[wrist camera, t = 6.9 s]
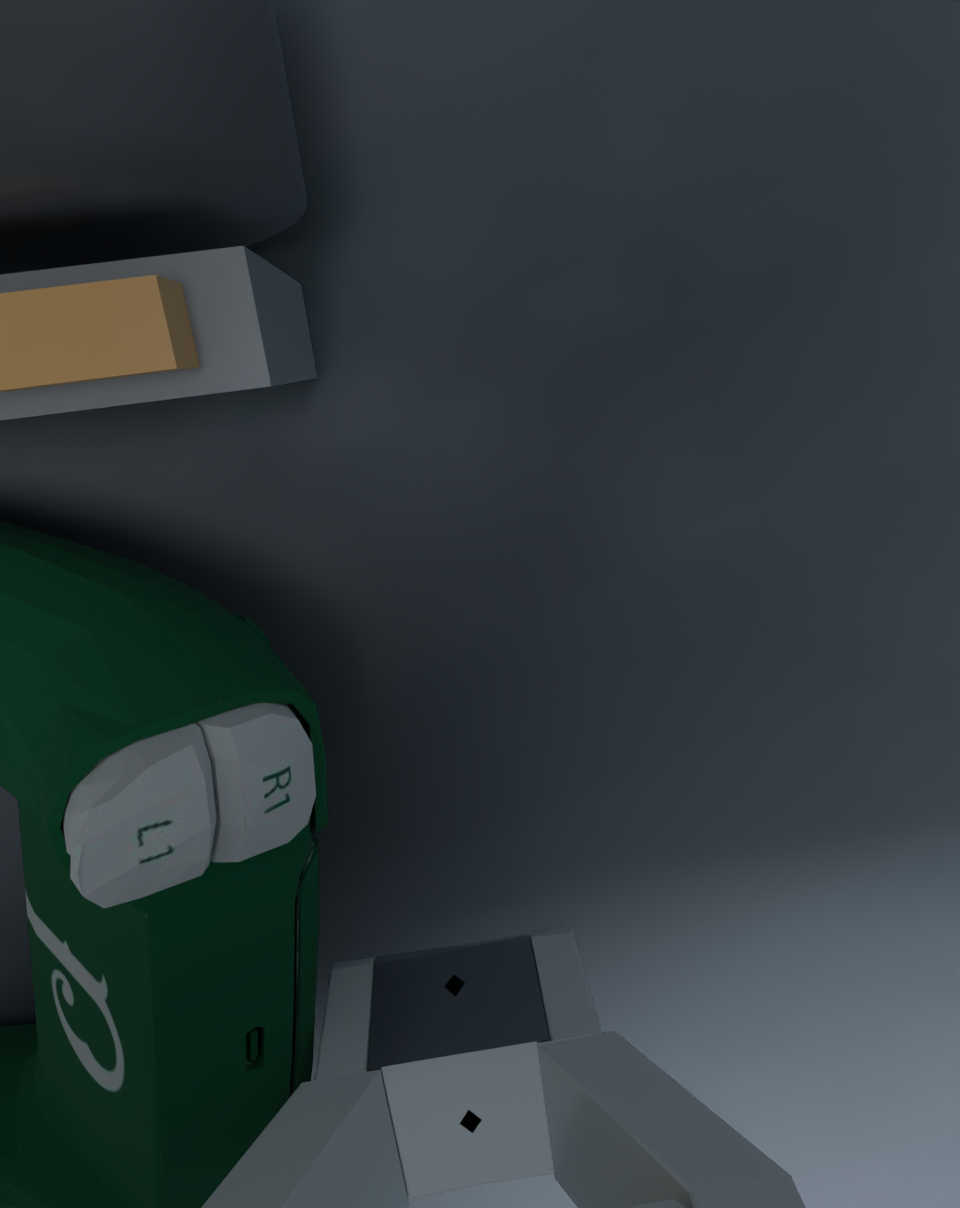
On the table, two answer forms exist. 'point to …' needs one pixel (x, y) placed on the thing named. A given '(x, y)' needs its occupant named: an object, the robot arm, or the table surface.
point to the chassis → (144, 204)
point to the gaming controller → (151, 880)
